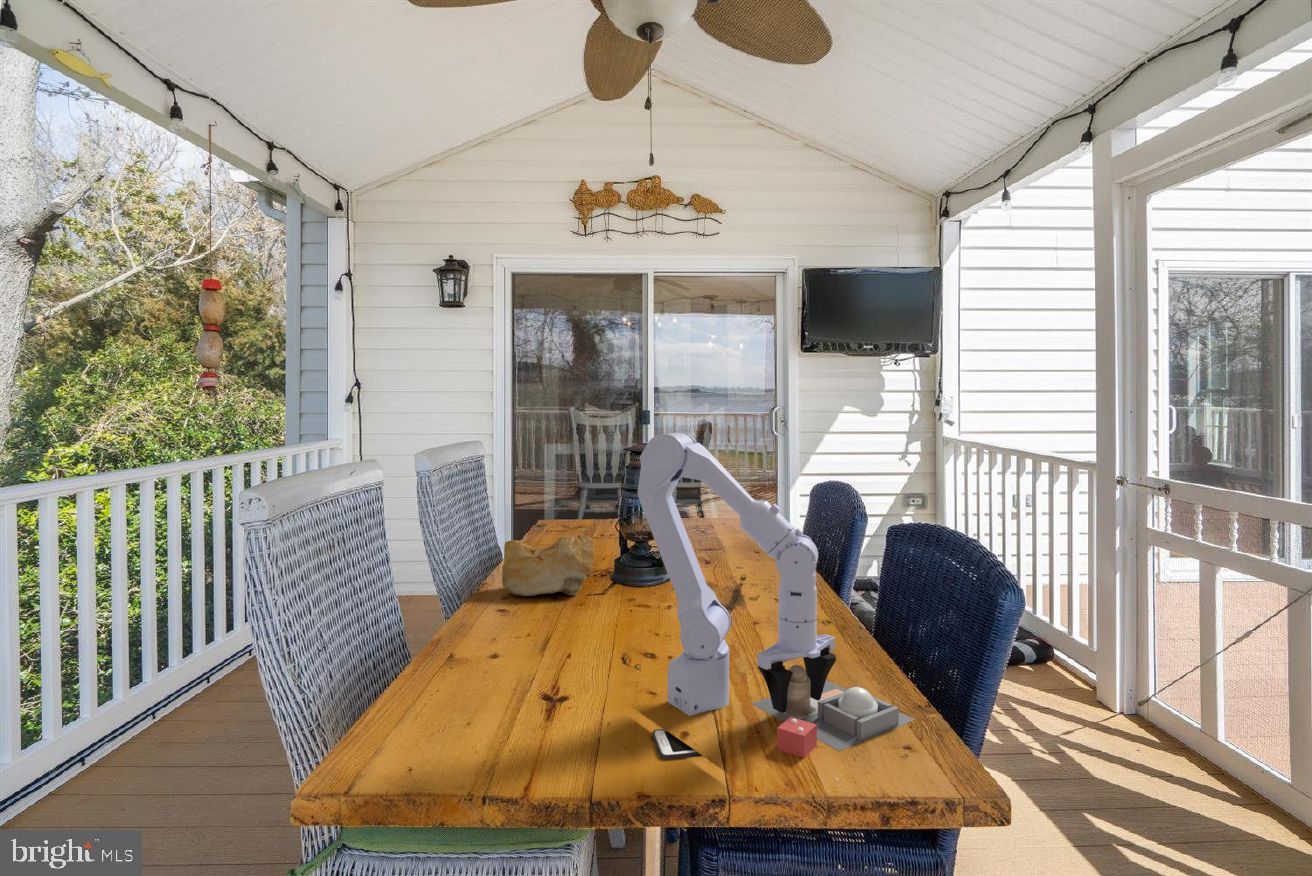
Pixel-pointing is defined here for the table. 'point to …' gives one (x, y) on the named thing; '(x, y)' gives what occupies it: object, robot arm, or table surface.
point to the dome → (858, 703)
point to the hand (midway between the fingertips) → (797, 704)
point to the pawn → (798, 693)
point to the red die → (797, 737)
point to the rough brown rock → (548, 566)
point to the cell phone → (672, 746)
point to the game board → (842, 719)
